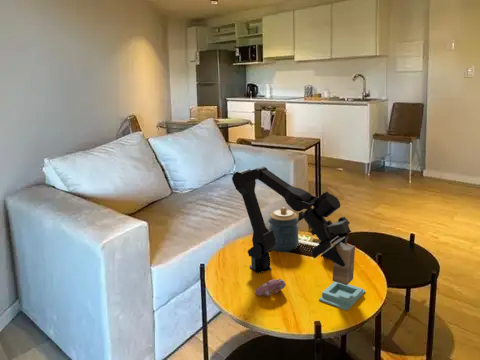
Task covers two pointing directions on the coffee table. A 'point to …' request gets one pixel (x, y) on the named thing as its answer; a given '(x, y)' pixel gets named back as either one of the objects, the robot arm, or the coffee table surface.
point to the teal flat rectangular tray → (341, 295)
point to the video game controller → (270, 287)
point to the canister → (284, 229)
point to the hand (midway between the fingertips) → (347, 263)
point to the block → (346, 272)
